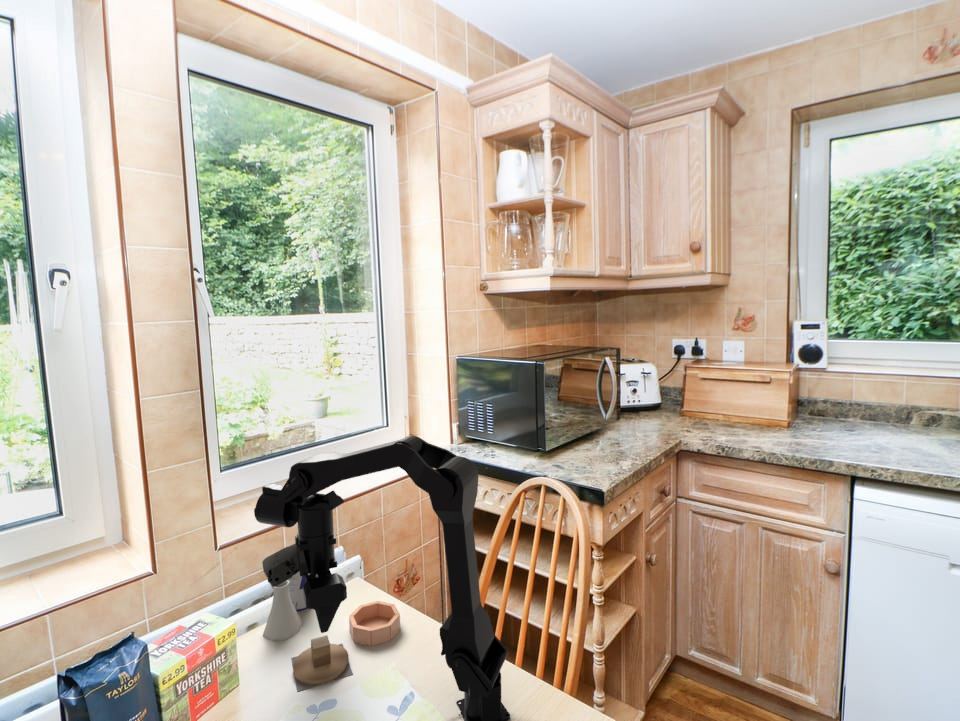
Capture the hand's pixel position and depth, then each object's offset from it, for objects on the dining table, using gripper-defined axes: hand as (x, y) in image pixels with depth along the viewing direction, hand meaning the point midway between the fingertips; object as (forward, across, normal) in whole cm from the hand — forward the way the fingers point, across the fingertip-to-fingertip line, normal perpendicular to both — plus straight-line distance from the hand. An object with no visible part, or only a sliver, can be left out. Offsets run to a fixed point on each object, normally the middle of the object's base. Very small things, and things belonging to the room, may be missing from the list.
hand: (319, 616), depth 90 cm
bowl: (+10, -6, +11) cm, 16 cm away
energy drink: (+10, -21, -1) cm, 23 cm away
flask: (+10, -14, -5) cm, 18 cm away
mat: (+10, 0, 0) cm, 10 cm away
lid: (+9, 0, 0) cm, 9 cm away
